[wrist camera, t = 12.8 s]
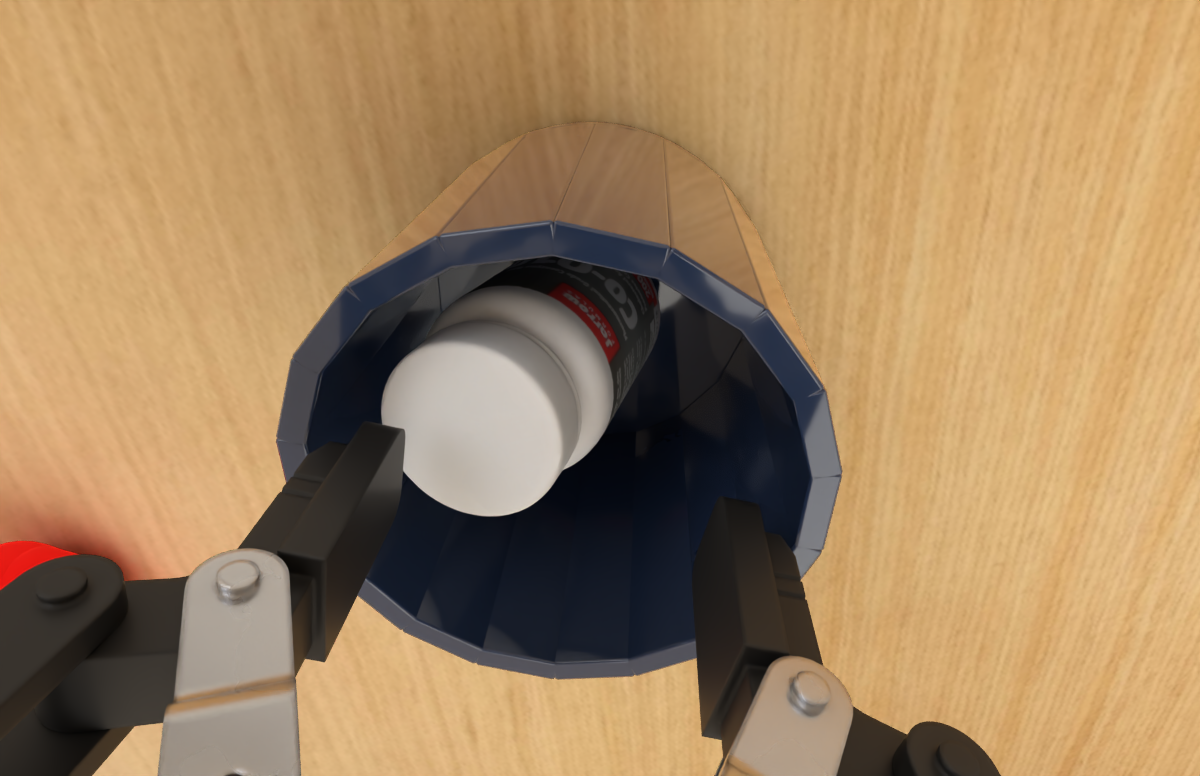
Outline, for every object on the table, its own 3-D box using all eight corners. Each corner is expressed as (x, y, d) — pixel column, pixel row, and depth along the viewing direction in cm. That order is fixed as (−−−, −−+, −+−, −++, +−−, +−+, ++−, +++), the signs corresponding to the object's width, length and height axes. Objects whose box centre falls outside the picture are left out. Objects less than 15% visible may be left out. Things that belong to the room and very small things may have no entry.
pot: (438, 81, 19) (264, 155, 11) (817, 169, 20) (945, 308, 11) (412, 404, 25) (281, 628, 16) (710, 467, 25) (740, 717, 17)
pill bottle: (685, 268, 20) (615, 383, 13) (631, 402, 22) (545, 566, 15) (536, 207, 20) (384, 284, 13) (498, 344, 23) (350, 476, 15)
